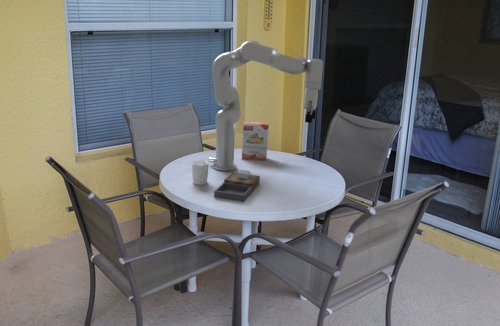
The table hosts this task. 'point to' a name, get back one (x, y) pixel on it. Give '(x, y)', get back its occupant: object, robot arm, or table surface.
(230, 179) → the board
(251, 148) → the cracker box
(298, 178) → the table surface
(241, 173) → the tile
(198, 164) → the white cup
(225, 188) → the tray
